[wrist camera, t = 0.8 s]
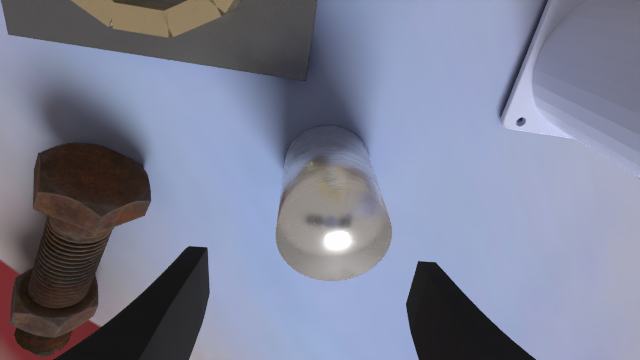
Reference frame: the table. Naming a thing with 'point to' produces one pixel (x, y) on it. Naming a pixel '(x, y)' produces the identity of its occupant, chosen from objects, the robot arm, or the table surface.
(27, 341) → the bolt
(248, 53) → the ring plate
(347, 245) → the piston
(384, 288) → the table surface
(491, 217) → the table surface
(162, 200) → the table surface
